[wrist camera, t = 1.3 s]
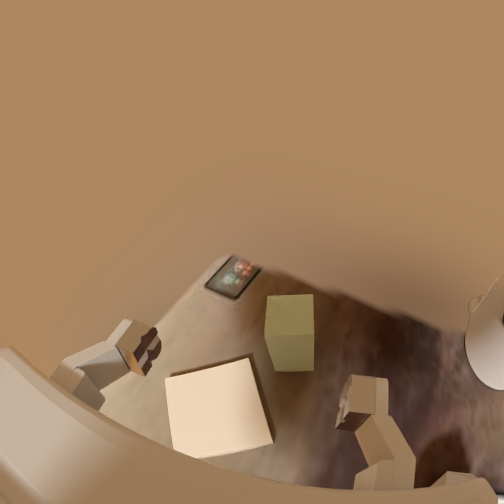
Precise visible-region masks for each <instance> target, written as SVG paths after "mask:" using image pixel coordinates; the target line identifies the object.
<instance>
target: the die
mask: <svg viewBox="0 0 504 504" xmlns="http://www.w3.org/2000/svg"><path fill="white" fill-rule="evenodd" d="M472 479H477V478H476V477H475V476H474V475H473V474H469V473H459V472H451V471H447V472H446V473H445V474H444V475H443V476H442V477H441V478H439V479H438V480H437V481H436V482H435V483H434V484H433V485H431V486H430V487H433V486H440V485H447V484H453V483H458V482H463V481H468V480H472Z"/></svg>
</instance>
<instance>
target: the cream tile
mask: <svg viewBox="0 0 504 504" xmlns="http://www.w3.org/2000/svg"><path fill="white" fill-rule="evenodd" d="M165 386H166V395H167V404H168V413H169V420H170V428H171V435H172V441H173V447H174V450H176V451H178V452H181V453H183V454H186V455H189V456H191V457H194V458H197V459H202V458H208V457H215V456H220V455H226V454H231V453H236V452H241V451H246V450H250V449H254V448H258V447H263V446H266V445H270V444H274V442H273V439H272V436H271V432H270V429H269V426H268V422H267V419H266V416H265V412H264V409H263V405H262V402H261V398H260V395H259V391H258V388H257V384H256V381H255V377H254V374H253V370H252V366H251V363H250V360H249V358H246V359H243V360H239V361H235V362H232V363H228V364H224V365H221V366H217V367H213V368H209V369H205V370H200V371H196V372H192V373H188V374H183V375H178V376H174V377H169V378H165Z"/></svg>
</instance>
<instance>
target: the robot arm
mask: <svg viewBox="0 0 504 504" xmlns="http://www.w3.org/2000/svg"><path fill="white" fill-rule="evenodd" d="M468 311H469V324H468V327H467V330H466V336H465V346H466V353H467V357H468V360H469V363H470V365H471V367H472V369H473V371H474V372H475V374H476V375H477V376H478V378H479V379H480V380H481V381H482V382H483V383H485V384H486V385H488V386H489V387H491V388H494V389H498V390H504V275H503V276H501V277H500V278H497V279H496V280H495V281H494V282H493V284H492V285H491V287H490V288H489V290H488V291H487V293H486V294H485V295H482V296H479V297H476V298H474V299H472V300H471V301H470V303H469V305H468ZM157 333H158V332H157V329H156V328H155V327H152V326H149V325H146V324H144V323H141V322H138V321H136V320H133V319H130V318H128V317H127V318H125V319H123V321H122V322H121V323H120V324H119V325H118V327H117V328H116V329H115V331H114V332H113V333H112V334H111V336H110V337H109V338H108V339H107V341H106V342H105V341H102V342H100V343H98V344H96V345H94V346H91V347H89V348H87V349H84V350H82V351H80V352H78V353H76V354H73V355H71V356H69V357H67V358H65V359H64V360H63V361H62V362H61V364H60V365H59V366H58V368H57V369H56V370H55V372H54V373H53V374H52V376H51V377H50V378H49V377H48V376H47V375H45V374H44V373H43V372H41V371H40V370H39V369H38V368H37V367H36V366H34V365H33V364H32V363H31V362H29V361H28V360H27V359H26V358H25V357H24V356H23V355H22V354H20V353H19V352H18V351H17V350H16V349H15V348H14V347H12V346H7V347H3V348H0V504H498V499H497V496H496V494H495V492H494V491H493V489H492V487H491V486H490V485H489V483H488V482H487V481H486V480H485V479H484V478H477V479H472V480H468V481H463V482H458V483H453V484H447V485H440V486H433V487H425V488H416V489H413V488H414V478H415V466H416V458H415V456H414V454H413V452H412V451H411V449H410V447H409V446H408V444H407V442H406V440H405V439H404V437H403V435H402V434H401V432H400V430H399V428H398V427H397V425H396V423H395V422H394V420H393V418H392V417H391V416H388V380H387V379H386V378H377V377H370V376H361V375H352V374H351V375H350V376H349V378H348V383H347V384H345V385H344V387H343V389H342V392H341V395H340V401H339V406H340V408H341V410H340V412H339V413H338V415H337V421H336V428H335V429H340V430H348V431H355V434H356V437H357V439H358V442H359V444H360V446H361V449H362V451H363V453H364V456H365V458H366V461H367V463H368V466H369V467H368V468H366V469H365V470H363V471H361V472H359V473H358V474H356V477H355V482H354V487H353V490H344V489H331V488H320V487H312V486H304V485H298V484H291V483H286V482H280V481H275V480H270V479H266V478H261V477H257V476H253V475H249V474H245V473H241V472H237V471H234V470H230V469H227V468H224V467H220V466H217V465H214V464H211V463H208V462H205V461H202V460H199V459H197V458H194V457H191V456H189V455H186V454H183V453H181V452H178V451H176V450H173V449H171V448H169V447H166V446H164V445H162V444H160V443H157V442H155V441H153V440H151V439H149V438H147V437H145V436H142V435H140V434H138V433H136V432H134V431H133V430H131V429H129V428H127V427H125V426H123V425H121V424H119V423H118V422H116V421H114V420H112V419H110V418H109V417H107V416H105V415H104V414H102V413H100V412H99V409H100V408H101V406H102V405H103V403H104V401H105V397H104V396H103V395H102V393H101V392H100V391H99V390H101V389H103V388H104V387H106V386H108V385H109V384H111V383H112V382H114V381H116V380H117V379H119V378H121V377H122V376H124V375H125V374H127V373H129V372H130V371H132V372H135V373H137V374H140V375H142V376H146V375H147V373H148V371H149V370H150V368H151V367H152V360H154V359H156V358H157V357H158V355H159V354H160V351H161V340H160V338H159V337H158V336H157Z"/></svg>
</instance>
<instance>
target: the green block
mask: <svg viewBox="0 0 504 504" xmlns="http://www.w3.org/2000/svg"><path fill="white" fill-rule="evenodd" d="M264 337H265V341H266V344H267V347H268V350H269V353H270V356H271V360H272V363H273V366H274V369H275V371H314V306H313V294H303V295H279V296H268V297H267V308H266V319H265V329H264Z"/></svg>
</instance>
